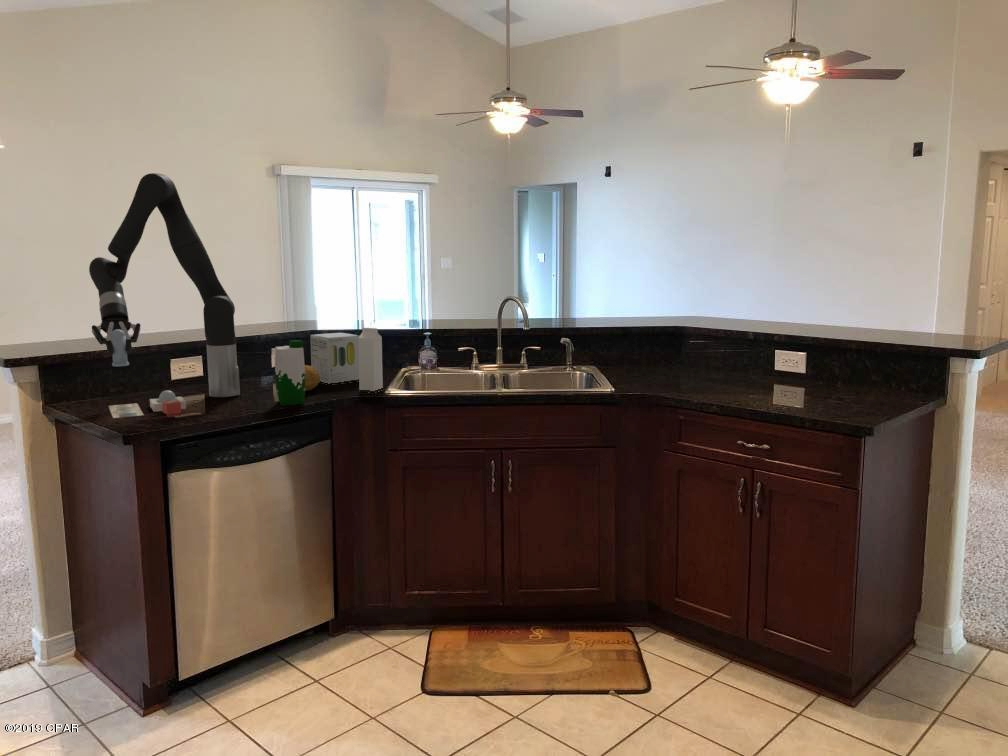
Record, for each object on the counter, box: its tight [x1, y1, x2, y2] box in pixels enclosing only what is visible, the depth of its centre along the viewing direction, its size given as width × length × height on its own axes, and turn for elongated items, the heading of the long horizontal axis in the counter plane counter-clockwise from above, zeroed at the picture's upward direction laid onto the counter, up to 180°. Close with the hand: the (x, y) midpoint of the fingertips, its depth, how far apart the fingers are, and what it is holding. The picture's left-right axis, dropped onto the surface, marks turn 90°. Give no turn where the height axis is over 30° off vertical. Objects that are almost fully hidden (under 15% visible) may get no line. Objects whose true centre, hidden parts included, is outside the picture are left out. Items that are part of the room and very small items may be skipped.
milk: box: [358, 327, 384, 391], centre depth 264 cm, size 6×6×22 cm
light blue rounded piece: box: [157, 389, 177, 403], centre depth 231 cm, size 5×5×6 cm
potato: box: [305, 364, 320, 392], centre depth 263 cm, size 10×13×9 cm
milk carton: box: [274, 339, 306, 406], centre depth 242 cm, size 9×9×20 cm
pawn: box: [111, 329, 130, 367], centre depth 230 cm, size 5×5×11 cm
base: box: [149, 396, 187, 413], centre depth 231 cm, size 9×9×3 cm
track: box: [108, 403, 145, 421], centre depth 227 cm, size 8×20×1 cm, turn 31°
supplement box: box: [309, 332, 359, 384], centre depth 284 cm, size 13×13×18 cm
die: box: [162, 400, 182, 418], centre depth 224 cm, size 4×4×4 cm
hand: (120, 352), depth 229 cm, fingers closed on pawn, 4 cm apart
